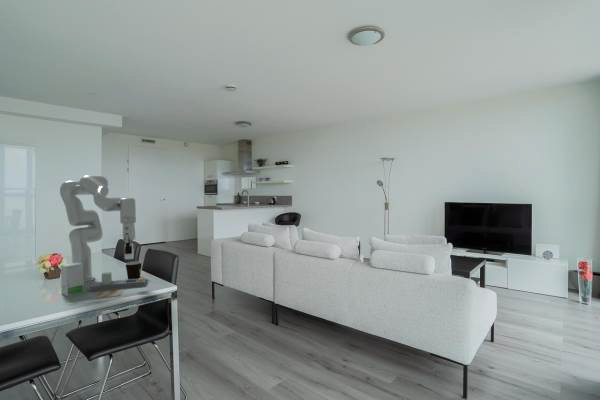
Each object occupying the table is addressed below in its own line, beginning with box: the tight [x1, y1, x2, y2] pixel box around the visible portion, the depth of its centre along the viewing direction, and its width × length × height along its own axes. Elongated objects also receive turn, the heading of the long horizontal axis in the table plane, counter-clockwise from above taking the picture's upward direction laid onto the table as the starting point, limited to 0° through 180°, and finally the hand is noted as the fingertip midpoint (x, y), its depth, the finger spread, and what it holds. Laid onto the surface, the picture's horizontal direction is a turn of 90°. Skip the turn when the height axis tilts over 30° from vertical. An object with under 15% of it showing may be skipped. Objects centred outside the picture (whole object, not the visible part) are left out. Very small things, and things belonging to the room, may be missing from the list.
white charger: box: [124, 243, 135, 260], centre depth 177 cm, size 4×3×8 cm
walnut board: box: [95, 288, 125, 299], centre depth 164 cm, size 11×11×1 cm
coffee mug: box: [125, 260, 143, 280], centre depth 193 cm, size 12×9×10 cm
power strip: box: [89, 277, 147, 292], centre depth 176 cm, size 26×8×4 cm, turn 109°
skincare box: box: [60, 262, 85, 297], centre depth 166 cm, size 8×7×16 cm
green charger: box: [101, 272, 113, 285], centre depth 174 cm, size 4×3×8 cm
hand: (129, 252), depth 177 cm, fingers closed on white charger, 3 cm apart
